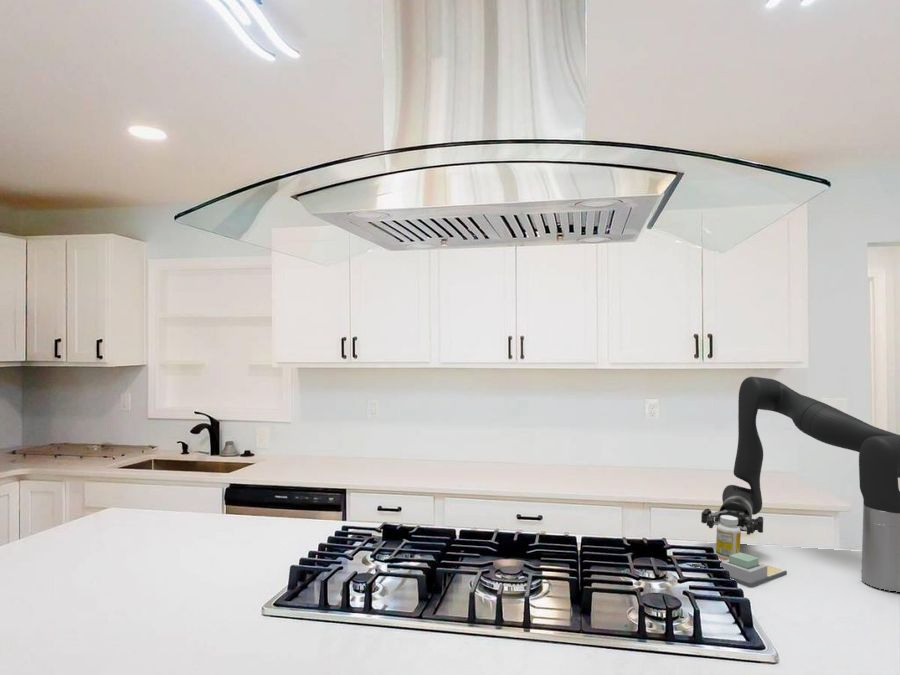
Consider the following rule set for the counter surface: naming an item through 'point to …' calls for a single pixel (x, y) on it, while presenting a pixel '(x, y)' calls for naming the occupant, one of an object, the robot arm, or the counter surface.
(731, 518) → the supplement bottle
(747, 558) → the button
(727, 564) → the grey tray
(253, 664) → the counter surface
